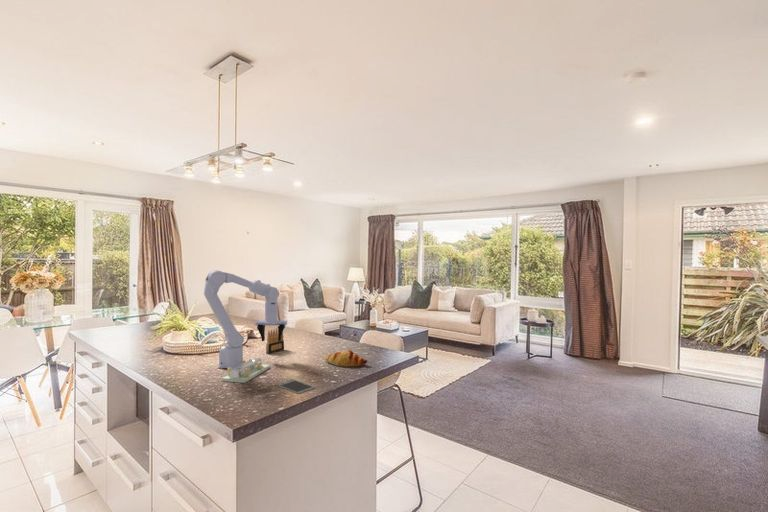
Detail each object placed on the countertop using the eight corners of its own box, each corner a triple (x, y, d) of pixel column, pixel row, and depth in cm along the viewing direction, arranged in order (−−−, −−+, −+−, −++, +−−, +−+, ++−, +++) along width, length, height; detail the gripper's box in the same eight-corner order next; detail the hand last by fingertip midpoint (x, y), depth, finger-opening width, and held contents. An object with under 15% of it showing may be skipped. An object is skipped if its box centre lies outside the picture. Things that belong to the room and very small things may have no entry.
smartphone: (316, 388, 135) (316, 387, 135) (298, 395, 129) (298, 393, 129) (292, 380, 145) (292, 378, 145) (274, 385, 139) (274, 384, 139)
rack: (221, 381, 143) (221, 370, 143) (249, 366, 163) (249, 357, 163) (244, 382, 141) (244, 372, 141) (270, 367, 161) (270, 358, 161)
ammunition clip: (268, 354, 183) (268, 330, 183) (266, 353, 184) (266, 330, 184) (284, 349, 192) (284, 327, 193) (281, 349, 193) (281, 326, 193)
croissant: (322, 371, 167) (318, 358, 163) (331, 356, 175) (327, 343, 172) (365, 375, 160) (361, 361, 156) (372, 359, 168) (368, 345, 165)
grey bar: (240, 378, 142) (240, 371, 142) (228, 377, 143) (228, 370, 143) (263, 365, 160) (263, 358, 160) (252, 364, 161) (252, 358, 161)
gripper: (253, 313, 168) (253, 342, 168) (284, 313, 168) (285, 342, 168) (257, 311, 175) (257, 339, 175) (288, 310, 175) (288, 338, 175)
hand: (271, 340), depth 172 cm, fingers open, 7 cm apart
